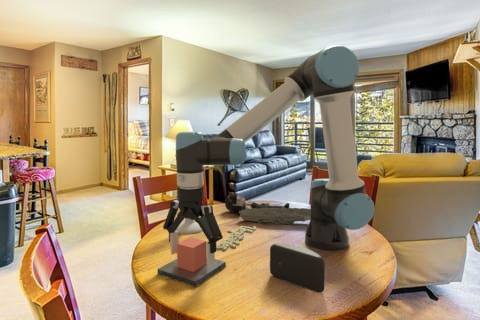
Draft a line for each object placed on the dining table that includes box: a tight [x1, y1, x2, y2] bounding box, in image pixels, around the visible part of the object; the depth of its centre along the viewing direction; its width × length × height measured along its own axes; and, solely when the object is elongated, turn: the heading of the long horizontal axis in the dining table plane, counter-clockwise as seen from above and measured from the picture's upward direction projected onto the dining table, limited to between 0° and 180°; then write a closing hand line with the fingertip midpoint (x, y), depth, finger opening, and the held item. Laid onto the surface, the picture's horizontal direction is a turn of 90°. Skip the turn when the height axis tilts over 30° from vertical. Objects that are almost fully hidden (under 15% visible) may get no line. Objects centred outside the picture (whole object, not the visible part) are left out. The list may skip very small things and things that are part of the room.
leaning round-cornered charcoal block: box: [269, 243, 326, 294], centre depth 86 cm, size 16×5×9 cm, turn 50°
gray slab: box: [157, 258, 227, 288], centre depth 93 cm, size 14×14×6 cm
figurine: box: [224, 193, 290, 214], centre depth 150 cm, size 20×9×30 cm
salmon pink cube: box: [176, 236, 207, 272], centre depth 93 cm, size 6×6×7 cm
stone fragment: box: [238, 207, 311, 225], centre depth 136 cm, size 31×9×5 cm
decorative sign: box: [216, 225, 257, 252], centre depth 120 cm, size 26×1×10 cm
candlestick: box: [175, 218, 203, 235], centre depth 129 cm, size 13×13×30 cm
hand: (192, 258), depth 93 cm, fingers open, 13 cm apart
